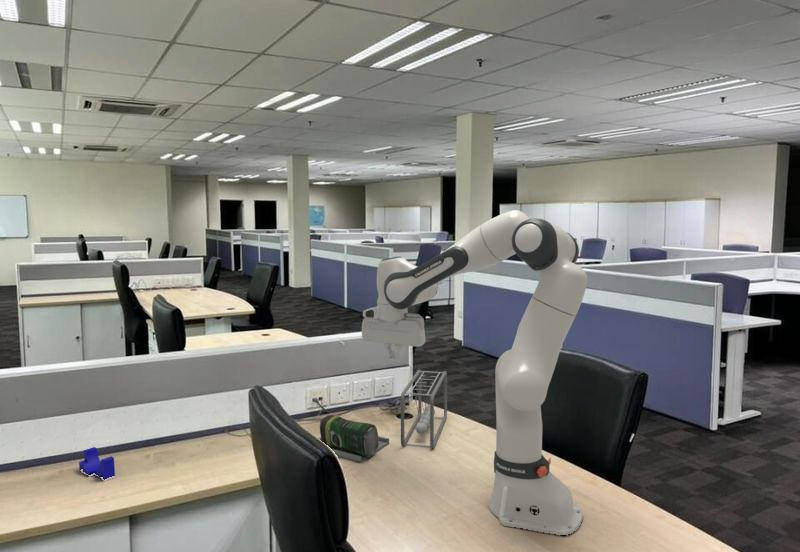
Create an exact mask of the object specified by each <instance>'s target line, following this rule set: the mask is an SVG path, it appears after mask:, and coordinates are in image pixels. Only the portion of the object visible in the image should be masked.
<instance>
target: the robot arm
mask: <svg viewBox="0 0 800 552" xmlns="http://www.w3.org/2000/svg"><path fill="white" fill-rule="evenodd" d="M579 250H580V248H579V244H578V242H577V240H576V238H574V236H573V235H572V234H570V233H569V232H567V231H565V230H564V229H563V228H562V227H560V226H559V225H557V224H555V223H552V222H550V221H548V220H545V219H542V218H529V215H527V214H525V213H524V212H523V211H521V210H517V209H514V210H512V209H511V210H509V211H506V212H503V213H501V214H499V215H497V216H495V217H493V218H491V219H488V220H486V221H485V222H483V223H481V224H480V225H478V226H477V227H475V228H474V229H473V230H471V231H470V232H468V233H467V234H465V235H464V236H463V237H462V238H461V239H459V240H457V242H456V243H454V244H452V245H451V246H450V247H448V248H447V249H445V250H444V251H443V252H441V253H439V254H438V255H436V256H434V257H433V258H431V259H429V260H427V261H425V262H423V263H422V264H420V265H418V266H417V265H414V264H412V263H411V262H409V261H408V260H407V259H406V258H405V257H403V256H393V257H388V258H383V259H381V260H380V261H379V262H378V264H377V265H378V266H377V269H376V289H377V294H378V295H377V300H376V304H377V305H376V306H375V305H374V306H373V307H370V308H367V309H365V310H363V311H362V316H363V318H362V323H361V337H362V339H363V341H365V342H374V343H383V346H384V347H383V348H384V349H385V350H386V352H387V358H388V359H394V360H397V359H400V352H401V350H402V348H403V346H409V347H422V346H423V345H425V343H426V339H427V338H426V331H425V320H424V317H423V316H422V315H420V314H419V313H410V312H409V311H408V308H410V307H412V306H416V305H418V304H421V303H424V302H427V301H430V300H431V299H433V298H434V297H435V296H436V295H437V292H438V290H439V289H438V288H439V283H440V282H442V281H444V280H446V279H448V278H450V277H454V276H457V275H460V274H461V275H462V274H466V273H473V272H477V271H482V270H484V269H487V268H490V267H493V266H495V265H497V264H500V263H502V262H503V261H505V260H507V259H509V258H510V257H512V256H514V255H516V256H517V257H518V258H519V259H521V260H522V262H524V263H525V264H526V265H527V266H528V267H530V269H531V270H533V271H535V272H536V271H537V272H538V274H539V280H538V282H537V285H536V288H535V290H534V292H533V294H532V296H531V298H530V300H529V302H528V305H527V307H526V309H525V311H524V313H523V315H522V317H521V319H520V322H519V324H518V327H517V330H516V333H515V338H514V341H513V342H512V346H511V349H507V350H506V351H504V352H503V353H502V354H501V355H500V357H498V359H497V362H496V365H495V380H494V381H495V411H496V412H495V413H496V414H495V415H496V417H495V418H496V432H495V433H496V435H495V436H496V439H495V441H496V444H495V445H496V446H495V450H494V453H493V454H494V456H493V472H494V479H493V480H494V481H493V487H492V492H491V497H490V500H489V503H488V508H489V511H490V512H491V513H492V514H493V515H494V516H496V517H497V519H498V521H499V523H500V524H501V525H502V526H505V527H510V528H514V527H516V528H515V529H520V528H523V529H522V530H526V529H528V530H527V531H532V530H533V532H537V531H538V532H537V533H543V532H544V534H549V533H550V534H549V535H554V534H556V535H555V536H560V535H567V536H569V535H568V534H570V535H572V534H574V533H575V532H577V530H578V529H579V528H580V527H579V526H581V525H582V523H581V522H583V520H584V519H583V518H584V516H583V510H582V509H581V507H580V506H578V505H576V504H574V499H573V495H572V492H571V490H570V488H569V487H568V486H567V485H566V484H565V483H563V482H562V481H561V480H560V479H559V478H558V477H557V476H556V475H555V474H554V473H552V471H550V464H551V461H552V458H551V457H549V458H548V460H547V458H545V456H544V454H543V451H542V450H543V419H542V408H541V407H542V405H543V403H544V402H545V400H546V397H547V394H548V389H549V386H550V383H551V381H552V377H553V374H554V372H555V369H556V365H557V363H558V358H559V356H560V352H561V349H562V346H563V344H564V341H565V340H566V337H567V335H568V333H569V331H570V329H571V327H572V325H573V322H574V320H575V318H576V316H577V314H578V312H579V309H580V307H581V305H582V302H583V299H584V297H585V292H586V289H587V285H588V275H587V272H586V271H585V270H584V269H583V267H581V266H580V265H579V264H576V263H577V261H578V258H579V255H580V251H579ZM392 345H394V348H396V349H395V351H394V350H393V348H392ZM574 531H575V532H574ZM573 532H574V533H573ZM571 533H572V534H571Z"/></svg>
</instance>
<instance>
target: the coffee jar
mask: <svg viewBox="0 0 800 552" xmlns="http://www.w3.org/2000/svg"><path fill="white" fill-rule="evenodd" d="M319 432H320V437H321V440H322V442H324V443H325V444H326V445H328V446H329V447H331V448H335V447H337V448H341V449H344V450H347V451H349V452H352V453H355V454H357V455H360V456H362V457H365V458H367V459H369V458H371V457H372V456H373V455H375V454H376V453H377V452H376V450H377V448H378V445H379V439H378V436H379V433H378V428H377V426H376V425H375V424H372V423H367V422H362V421H361V422H360V421H354V420H348V419H346V418H343V417H341V416H340V415H337V414H328V415H326V416H324V417H323V418H322V419H321V420H320V423H319ZM375 452H376V453H375ZM374 453H375V454H374Z"/></svg>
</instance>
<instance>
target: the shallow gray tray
mask: <svg viewBox="0 0 800 552" xmlns="http://www.w3.org/2000/svg"><path fill="white" fill-rule="evenodd" d="M318 439H320V440H321V436H319V437H318ZM378 439H379V445H378V448H377V450H376V452H375V453H374V454H373V455H375V454H376V453H378V452H379V451H380V450H382V449H384V448H385V447H386V446H388V445H390V438H389V437H385V436H380V435H378ZM321 441H322V440H321ZM330 448H331V447H330ZM331 449H332V450H333V451H334V452H335V454H336V455H337V456H338V457H337V458H339V459H343V460H346V461H351V462H354V463H359V464H361V463H363V462H364V461H366V460H367V459H368V458H365V457H362V456H360V455H357V454H355V453H352V452H349V451H347V450H344V449H341V448H337V447H335V448H331Z"/></svg>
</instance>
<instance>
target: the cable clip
mask: <svg viewBox="0 0 800 552" xmlns="http://www.w3.org/2000/svg"><path fill="white" fill-rule="evenodd" d="M83 458H84V460H80V461H79V462H78V465H79V468H78V469H79V471H80V470H81V469H83V472H85V473H86V474H88V475H91V474H93V473H95V474H96V475H98V476H99V477H103V479H104V480H105V479H107V478H109V477H112V476H115V477H116V469H115V458H114V456H108V457H105V458H102V459H100V457H99V452H98V448H97V447H96V446H93V447H90V448H87V449H84V450H83Z"/></svg>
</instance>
